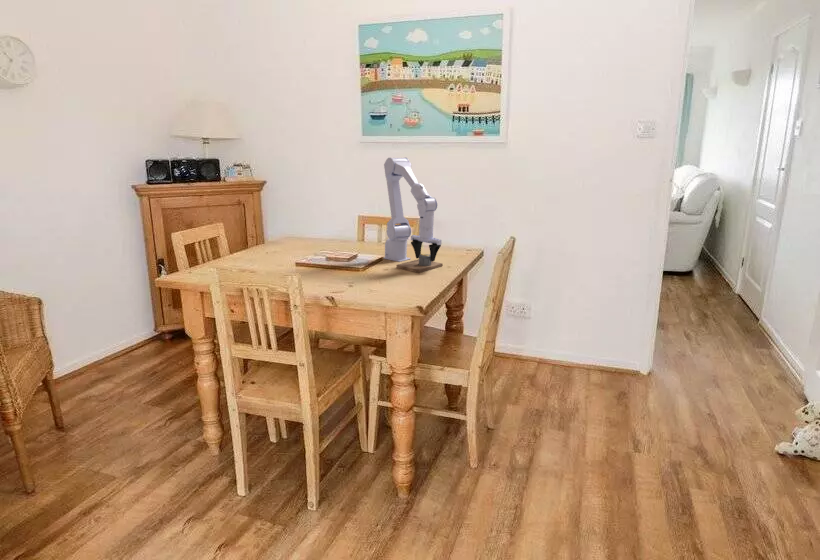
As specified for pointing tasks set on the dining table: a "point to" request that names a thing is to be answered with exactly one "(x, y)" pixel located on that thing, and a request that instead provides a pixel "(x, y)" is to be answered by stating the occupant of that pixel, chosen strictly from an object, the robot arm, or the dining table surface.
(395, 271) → the dining table surface
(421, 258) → the grey control knob
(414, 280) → the dining table surface
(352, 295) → the dining table surface
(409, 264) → the stud board
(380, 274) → the dining table surface
